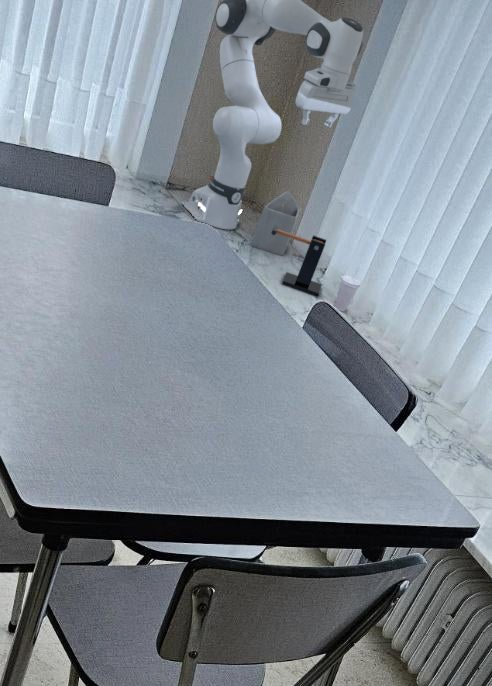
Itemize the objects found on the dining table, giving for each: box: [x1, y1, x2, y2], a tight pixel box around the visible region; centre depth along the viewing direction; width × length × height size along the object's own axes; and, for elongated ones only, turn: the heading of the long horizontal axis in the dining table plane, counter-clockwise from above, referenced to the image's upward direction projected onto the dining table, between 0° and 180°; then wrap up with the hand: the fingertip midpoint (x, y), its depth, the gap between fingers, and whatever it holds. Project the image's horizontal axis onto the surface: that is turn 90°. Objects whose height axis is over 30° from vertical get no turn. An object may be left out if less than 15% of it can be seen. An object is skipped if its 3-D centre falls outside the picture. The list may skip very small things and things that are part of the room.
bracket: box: [281, 235, 327, 298], centre depth 317 cm, size 12×9×16 cm
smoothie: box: [333, 267, 362, 312], centre depth 310 cm, size 6×6×14 cm
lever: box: [271, 226, 323, 246], centre depth 314 cm, size 16×5×2 cm, turn 76°
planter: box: [250, 190, 301, 256], centre depth 337 cm, size 16×8×19 cm, turn 123°
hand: (316, 125), depth 305 cm, fingers open, 8 cm apart
